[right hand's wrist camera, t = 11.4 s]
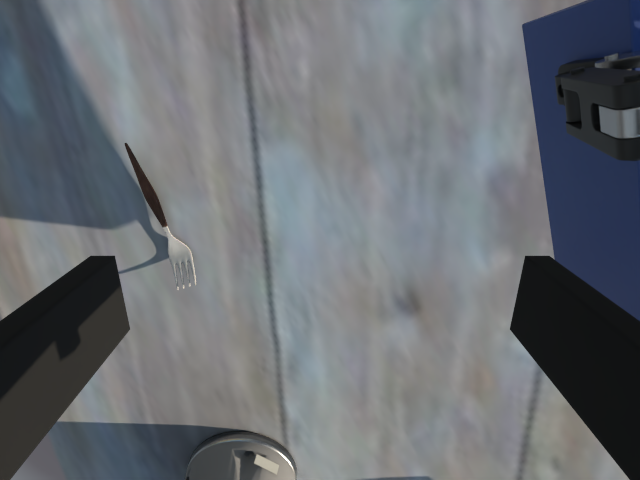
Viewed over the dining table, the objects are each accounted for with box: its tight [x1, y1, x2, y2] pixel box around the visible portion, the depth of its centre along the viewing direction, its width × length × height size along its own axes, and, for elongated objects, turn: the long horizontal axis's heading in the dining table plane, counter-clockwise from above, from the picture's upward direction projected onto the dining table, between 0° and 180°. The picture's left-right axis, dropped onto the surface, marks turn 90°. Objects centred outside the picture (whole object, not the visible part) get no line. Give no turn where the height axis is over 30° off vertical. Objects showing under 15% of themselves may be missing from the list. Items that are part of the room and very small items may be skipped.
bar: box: [522, 0, 640, 321], centre depth 23 cm, size 25×5×9 cm, turn 19°
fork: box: [125, 143, 196, 290], centre depth 40 cm, size 3×16×2 cm, turn 16°
